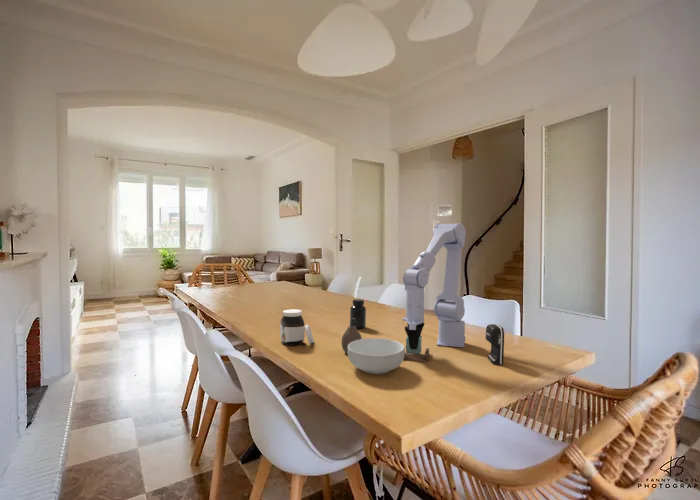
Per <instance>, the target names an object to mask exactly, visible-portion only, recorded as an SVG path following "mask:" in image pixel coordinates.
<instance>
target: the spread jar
mask: <svg viewBox="0 0 700 500" xmlns="http://www.w3.org/2000/svg"><path fill="white" fill-rule="evenodd" d="M302 314H303V311H302V310H301V309H295V308H294V309H293V308H292V309H284V310H283V311H282V317H281V318H280V323H279V327H280V328H279V329H280V331H279V334H280V336H279V337H280V341H281V343H282V345H285V346H298V345H301V344H302V343H304V341H305V334H306V338H307V341H308V343H309V344H314V343H315V342H314V341H315V340H314V335H313V333H312V329H311V327H310V325H309V324H305V320H304V318H303V316H302Z"/></svg>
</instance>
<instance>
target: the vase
mask: <svg viewBox="0 0 700 500" xmlns="http://www.w3.org/2000/svg"><path fill="white" fill-rule="evenodd" d="M360 339H363V337H362V335H361V333H360V332H359V330H358V329H356V327H355V326H350V325H349V326H348V327H347V329H346V331H345V332H344V333H343V334H342V337H341V347H342V350H343V352H345V354H347V355H348V344H349V343H351V342H353V341H355V340H360Z"/></svg>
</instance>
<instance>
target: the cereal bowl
mask: <svg viewBox="0 0 700 500" xmlns="http://www.w3.org/2000/svg"><path fill="white" fill-rule="evenodd" d="M405 353H406V347H405V345H404V344H403V343H402V342H399V341H397V340H394V339H389V338H381V337H378V338H377V337H374V338H373V337H371V338H362V339H360V340H355V341H353V342H351V343H349V344H348V354H347V356H348V360H349V362H350V363H351V364H352V365H353V366H354V367H356V368H357V369H359V370H361V371H363V372H365V373H367V374H371V375H384V374H387V373H389V371H393V370H395V369H397V368H398V367H400V365H402V363H403V361H404V360H405V359H404V354H405Z"/></svg>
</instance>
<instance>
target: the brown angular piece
mask: <svg viewBox="0 0 700 500" xmlns="http://www.w3.org/2000/svg"><path fill="white" fill-rule="evenodd" d="M429 355H430V348H427V347H425V351H424V353H420V354H414V353H406V352H405V354H404V359H403V360H408V361H418V362H419V361H420V362H428V361H429V357H430V356H429Z"/></svg>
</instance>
